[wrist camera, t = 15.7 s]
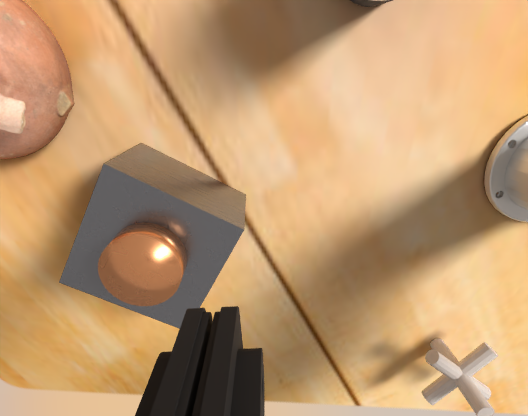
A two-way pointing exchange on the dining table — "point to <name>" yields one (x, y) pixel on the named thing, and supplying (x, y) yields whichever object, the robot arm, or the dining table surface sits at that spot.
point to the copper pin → (143, 264)
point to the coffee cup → (369, 2)
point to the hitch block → (162, 213)
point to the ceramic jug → (30, 81)
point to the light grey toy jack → (460, 375)
